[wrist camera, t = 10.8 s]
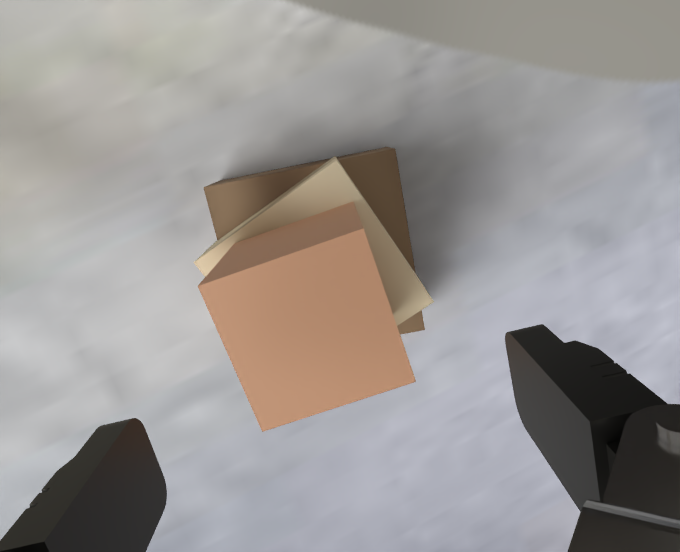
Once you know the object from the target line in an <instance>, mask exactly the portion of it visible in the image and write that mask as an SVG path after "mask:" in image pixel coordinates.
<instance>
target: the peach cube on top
mask: <svg viewBox="0 0 680 552" xmlns="http://www.w3.org/2000/svg"><path fill="white" fill-rule="evenodd" d="M198 288H199V290H200V292H201V295H202V297H203V299H204V301H205V304H206V306H207V308H208V310H209V313H210V315H211V317H212V319H213V322H214V324H215V326H216V328H217V331H218V333H219V335H220V337H221V340H222V342H223V344H224V346H225V349H226V351H227V353H228V355H229V358H230V360H231V362H232V364H233V367H234V369H235V371H236V373H237V376H238V378H239V380H240V382H241V385H242V387H243V389H244V391H245V394H246V396H247V398H248V400H249V403H250V405H251V407H252V409H253V412H254V414H255V416H256V418H257V421H258V423H259V425H260V427H261V430H262V432H263V431H266V430H269V429H272V428H275V427H278V426H281V425H284V424H287V423H291V422H294V421H297V420H300V419H303V418H306V417H309V416H312V415H315V414H318V413H321V412H324V411H327V410H330V409H333V408H337V407H340V406H343V405H346V404H349V403H352V402H355V401H358V400H361V399H364V398H367V397H370V396H373V395H376V394H379V393H383V392H386V391H389V390H392V389H395V388H398V387H401V386H404V385H407V384H410V383H413V382H416V380H415V377H414V374H413V371H412V368H411V366H410V363H409V360H408V357H407V354H406V351H405V348H404V345H403V342H402V339H401V336H400V333H399V330H398V328H397V325H396V322H395V319H394V316H393V313H392V310H391V307H390V304H389V301H388V298H387V295H386V292H385V289H384V287H383V284H382V281H381V278H380V275H379V272H378V269H377V266H376V263H375V260H374V257H373V254H372V251H371V249H370V246H369V243H368V240H367V237H366V234H365V231H364V228H363V225H362V223H361V220H360V218H359V215H358V212H357V210H356V207H355V204H354V202H350V203H347V204H344V205H342V206H339V207H336V208H333V209H330V210H327V211H325V212H322V213H319V214H316V215H313V216H310V217H308V218H305V219H302V220H299V221H296V222H293V223H291V224H288V225H285V226H282V227H279V228H277V229H274V230H271V231H268V232H265V233H262V234H260V235H257V236H254V237H251V238H248V239H245V240H243V241H240V242H237V243H234V244H233V246H232V247H231V248H230V249H229V250H228V251H227V253H226V254H225V255H224V256H223V257H222V258H221V260H220V261H219V262H218V263H217V264H216V265H215V267H214V268H213V269H212V270H211V271H210V272H209V274H208V275H207V276H206V277H205V278H204V279H203V281H202V282H201V283H200V284H199V285H198Z"/></svg>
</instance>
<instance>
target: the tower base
mask: <svg viewBox="0 0 680 552" xmlns="http://www.w3.org/2000/svg"><path fill="white" fill-rule="evenodd" d="M336 158H337V159H338V161H339V162H340V164H341V165H342V167H343V168H344V169H345V171H346V172H347V174H348V175H349V177H350V178H351V180H352V181H353V183H354V184H355V186H356V187H357V188H358V190H359V191H360V193H361V194H362V196H363V197H364V199H365V200H366V202H367V203H368V205H369V206H370V207H371V209H372V210H373V212H374V213H375V215H376V216H377V218H378V219H379V221H380V222H381V224H382V225H383V226H384V228H385V229H386V231H387V232H388V234H389V235H390V237H391V238H392V240H393V241H394V243H395V244H396V245H397V247H398V248H399V250H400V251H401V253H402V254H403V256H404V257H405V259H406V260H407V262H408V263H409V265H410V266H411V267H412V269H413V270H414V272H415V267H414V261H413V255H412V249H411V243H410V237H409V231H408V224H407V218H406V212H405V206H404V200H403V194H402V188H401V182H400V175H399V169H398V163H397V157H396V151H395V149H394V148H390V147H384V148H379V149H374V150H369V151H364V152H359V153H355V154H350V155H345V156H340V157H336ZM330 159H332V158H330ZM330 159H325V160H320V161H315V162H310V163H305V164H300V165H295V166H290V167H285V168H281V169H276V170H271V171H266V172H261V173H256V174H251V175H246V176H241V177H236V178H231V179H226V180H221V181H218V182H215V183H213V184H211V185H208V186H206V187H204V191H205V195H206V199H207V202H208V206H209V210H210V214H211V218H212V221H213V225H214V229H215V233H216V236H217V240H219V239H220V238H222V237H223V236H225V235H226V234H227V233H229V232H230V231H232V230H233V229H234V228H236V227H237V226H238V225H240V224H241V223H243V222H244V221H245V220H247V219H248V218H250V217H251V216H252V215H254V214H255V213H257V212H258V211H259V210H261V209H262V208H264V207H265V206H266V205H268V204H269V203H270V202H272V201H273V200H275V199H276V198H277V197H279V196H280V195H282V194H283V193H284V192H286V191H287V190H289V189H290V188H291V187H293V186H294V185H296V184H297V183H298V182H300V181H301V180H302V179H304V178H305V177H307V176H308V175H309V174H311V173H312V172H314V171H315V170H316V169H318V168H319V167H321V166H322V165H323V164H325V163H326V162H328V161H329V160H330ZM397 328H398V330H399V333H400V334H405V333H410V332H415V331H421V330H425V328H424V322H423V316H422V310H421V311H419V312H418V313H416V314H415V315H413V316H412V317H410V318H408V319H407V320H405V321H404V322H402V323H401V324H399V325H398V326H397Z"/></svg>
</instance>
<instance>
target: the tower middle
mask: <svg viewBox="0 0 680 552" xmlns="http://www.w3.org/2000/svg"><path fill="white" fill-rule="evenodd" d="M350 202H354V204H355V207H356V210H357V212H358V215H359V218H360V220H361V223H362V225H363V228H364V231H365V234H366V237H367V240H368V243H369V246H370V249H371V251H372V254H373V257H374V260H375V263H376V266H377V269H378V272H379V275H380V278H381V281H382V284H383V287H384V289H385V292H386V295H387V298H388V301H389V304H390V307H391V310H392V313H393V316H394V319H395V322H396V325H397V326H398V325H399V324H401V323H402V322H404V321H405V320H407V319H408V318H410V317H412V316H413V315H415V314H416V313H418V312H419V311H421V310H422V309H424V308H425V307H427V306H428V305H430V304H431V303H433V302H434V301H433V300H432V298H431V297H430V295H429V293H428V292H427V290H426V289H425V287H424V286H423V284H422V282H421V281H420V279H419V278H418V276H417V275H416V273H415V272H414V270H413V269H412V267H411V266H410V265H409V263H408V262H407V260H406V259H405V257H404V256H403V254H402V253H401V251H400V250H399V248H398V247H397V245H396V244H395V243H394V241H393V240H392V238H391V237H390V235H389V234H388V232H387V231H386V229H385V228H384V226H383V225H382V224H381V222H380V221H379V219H378V218H377V216H376V215H375V213H374V212H373V210H372V209H371V207H370V206H369V205H368V203H367V202H366V200H365V199H364V197H363V196H362V194H361V193H360V191H359V190H358V188H357V187H356V186H355V184H354V183H353V181H352V180H351V178H350V177H349V175H348V174H347V172H346V171H345V169H344V168H343V167H342V165H341V164H340V162H339V161H338V159H337V158H336V156H334V157H333V158H332V159H330V160H329V161H328V162H326V163H325V164H323V165H322V166H321V167H319V168H318V169H316V170H315V171H314V172H312V173H311V174H309V175H308V176H307V177H305V178H304V179H302V180H301V181H300V182H298V183H297V184H296V185H294V186H293V187H291V188H290V189H289V190H287V191H286V192H284V193H283V194H282V195H280V196H279V197H277V198H276V199H275V200H273V201H272V202H270V203H269V204H268V205H266V206H265V207H264V208H262V209H261V210H259V211H258V212H257V213H255V214H254V215H252V216H251V217H250V218H248V219H247V220H245V221H244V222H243V223H241V224H240V225H238V226H237V227H236V228H234V229H233V230H232V231H230V232H229V233H227V234H226V235H225V236H223V237H222V238H220V239H219V240H218V241H216V242H215V243H214V244H213V245H212V246H211V247H210V248H209V249H207V250H206V251H205V252H204V253H203V254H202V255H201V256H200V257H199V258H198V259H197V260H196V261H195V262H194V264H195V265H196V266H197V267H198V269H199V270H200V271H201V272H202V274H203V275H204V276H205V277H206V276H207V275H208V274H209V272H210V271H211V270H212V269H213V268H214V267H215V265H216V264H217V263H218V262H219V261H220V260H221V258H222V257H223V256H224V255H225V254H226V253H227V251H228V250H229V249H230V248H231V247H232V246H233V244H234V243H237V242H240V241H243V240H245V239H248V238H251V237H254V236H257V235H260V234H262V233H265V232H268V231H271V230H274V229H277V228H279V227H282V226H285V225H288V224H291V223H293V222H296V221H299V220H302V219H305V218H308V217H310V216H313V215H316V214H319V213H322V212H325V211H327V210H330V209H333V208H336V207H339V206H342V205H344V204H347V203H350Z"/></svg>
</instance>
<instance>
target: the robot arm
mask: <svg viewBox="0 0 680 552" xmlns="http://www.w3.org/2000/svg"><path fill="white" fill-rule="evenodd" d="M505 343H506V349H507V355H508V361H509V367H510V373H511V379H512V384H513V390H514V396H515V401H516V405H517V409H518V412H519V415H520V418H521V420H522V423H523V425H524V427H525V429H526V430H527V432H528V433H529V435H530V436H531V438H532V439H533V441H534V442H535V444H536V445H537V447H538V448H539V450H540V451H541V453H542V454H543V456H544V457H545V459H546V460H547V462H548V463H549V465H550V466H551V468H552V469H553V471H554V472H555V474H556V475H557V477H558V478H559V480H560V481H561V483H562V485H563V486H564V488H565V489H566V491H567V492H568V494H569V495H570V497H571V498H572V500H573V501H574V503H575V504H576V506H577V507H578V509H579V510H580V512H581V513H580V516H579V519H578V522H577V525H576V528H575V531H574V534H573V537H572V540H571V543H570V546H569V549H568V552H680V404H667V403H666V402H665V401H663V400H662V399H661V398H660V397H658V396H657V395H656V394H655V393H653V392H652V391H651V390H650V389H648V388H647V387H646V386H645V385H643V384H642V383H641V382H640V381H638V380H637V379H636V378H635V377H633V376H632V375H631V374H627V372H626V370H625V369H623V368H622V367H621V366H620V365H618V364H617V363H614V361H613V360H612V359H611V358H610V357H608V356H607V355H606V354H605V353H603V352H602V351H601V350H600V349H598V348H595V347H592V346H589V345H587V344H584V343H581V342H578V341H571V342H567V343H564V342H562V341H561V340H560V339H559V338H558V337H557V336H556V335H555V334H553V333H552V332H551V331H550V330H549V329H548V328H547V327H546V326H544V325H542V324H541V325H536V326H532V327H528V328H523V329H519V330H515V331H510V332H507V333H506V335H505ZM166 499H167V490H166V483H165V479H164V476H163V473H162V471H161V468H160V466H159V463H158V461H157V458H156V456H155V453H154V450H153V448H152V445H151V443H150V440H149V438H148V435H147V433H146V430H145V428H144V426H143V424H142V423H141V421H140V420H138V419H136V418H132V419H128V420H124V421H120V422H115V423H111V424H107V425H102V426H100V427H98V428H97V429H96V431H95V432H94V433H93V434H92V436H91V437H90V438H89V439H88V441H87V442H86V443H85V445H84V446H83V447H82V448H81V450H80V451H79V452H78V453H77V455H76V456H75V457H74V458H73V459H72V460H70V461H69V462H68V463H67V464H65V465H64V466H63V467H62V468H60V469H59V470H58V471H57V472H56V473H55V474H54V475H53V477H52V478H51V479H50V480H49V482H48V483H47V484H46V485H45V486H44V488H43V489H42V493H39V494H38V495H37V496H36V498H35V499H34V500H33V501H32V502H31V504H30V508H28V509H26V510H25V511H24V512H23V514H22V515H21V516H20V517H19V518H18V520H17V521H16V522H15V523H14V525H13V526H12V527H11V528H10V530H9V531H8V532H7V533H6V534H5V536H4V537H3V538H2V539H1V541H0V552H146V550H147V547H148V545H149V543H150V541H151V538H152V536H153V534H154V532H155V529H156V527H157V525H158V523H159V520H160V518H161V516H162V514H163V511H164V509H165V505H166Z"/></svg>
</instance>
